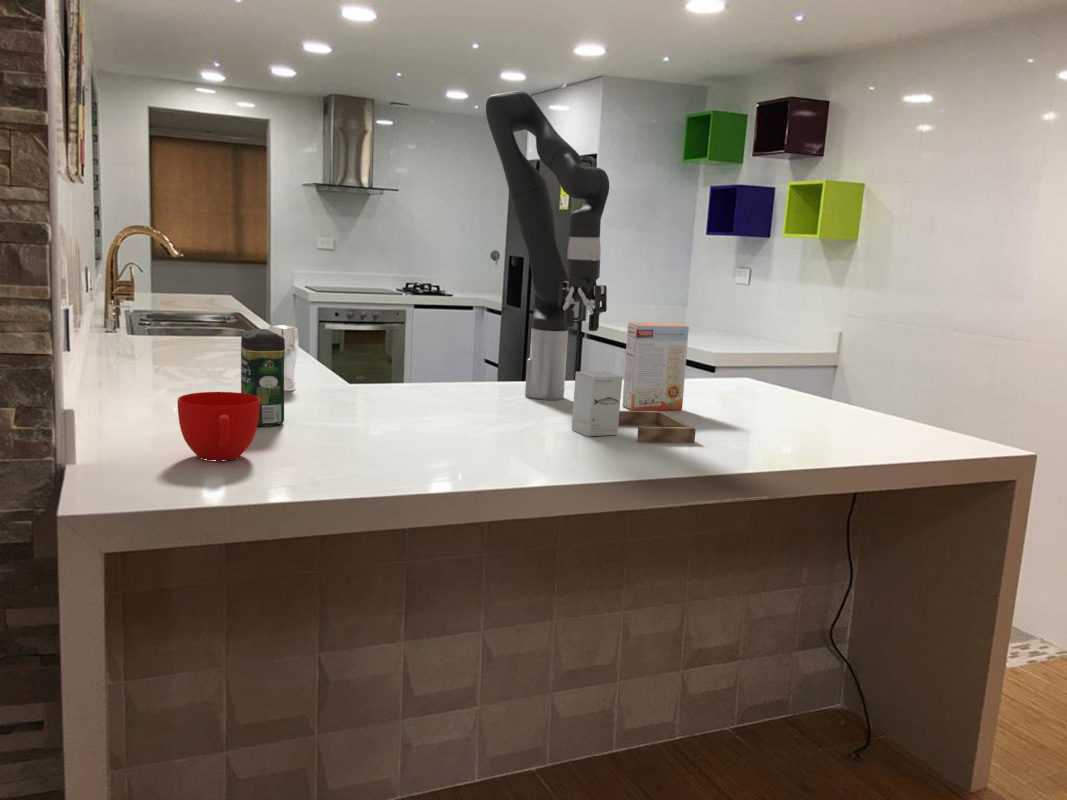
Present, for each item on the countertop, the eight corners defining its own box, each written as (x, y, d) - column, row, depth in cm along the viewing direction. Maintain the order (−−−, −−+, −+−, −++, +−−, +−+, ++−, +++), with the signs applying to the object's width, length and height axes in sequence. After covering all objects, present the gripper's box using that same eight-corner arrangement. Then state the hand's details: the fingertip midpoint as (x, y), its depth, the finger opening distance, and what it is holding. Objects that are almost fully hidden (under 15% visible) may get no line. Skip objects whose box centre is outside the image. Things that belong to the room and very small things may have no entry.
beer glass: (293, 392, 216) (294, 329, 213) (263, 390, 216) (264, 327, 213) (300, 387, 222) (301, 326, 220) (272, 386, 222) (273, 324, 220)
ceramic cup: (181, 474, 141) (180, 411, 140) (175, 449, 157) (175, 392, 155) (267, 471, 147) (268, 410, 145) (254, 446, 162) (254, 391, 160)
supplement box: (588, 437, 187) (592, 376, 185) (570, 429, 194) (574, 370, 191) (618, 435, 190) (623, 376, 188) (600, 428, 197) (604, 370, 195)
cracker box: (671, 406, 230) (678, 323, 226) (682, 411, 224) (690, 326, 220) (620, 406, 225) (627, 321, 221) (630, 411, 219) (637, 324, 216)
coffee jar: (236, 418, 184) (237, 326, 181) (276, 416, 188) (277, 326, 185) (246, 428, 176) (247, 332, 172) (288, 426, 179) (289, 332, 176)
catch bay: (639, 442, 185) (640, 428, 185) (609, 423, 202) (610, 410, 202) (694, 442, 188) (695, 428, 188) (660, 424, 205) (661, 411, 205)
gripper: (551, 256, 210) (549, 326, 214) (591, 259, 199) (588, 333, 202) (576, 255, 215) (573, 324, 218) (617, 259, 204) (614, 331, 207)
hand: (581, 328), depth 210 cm, fingers open, 8 cm apart
